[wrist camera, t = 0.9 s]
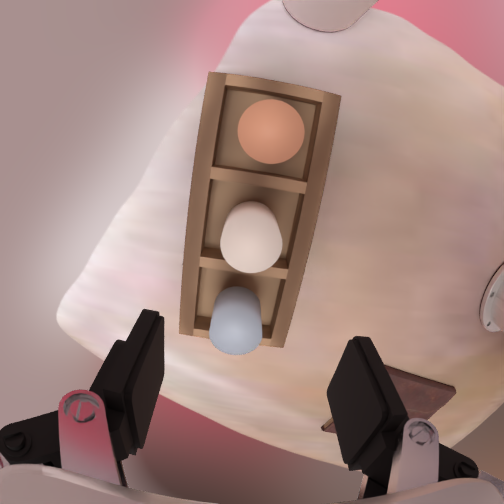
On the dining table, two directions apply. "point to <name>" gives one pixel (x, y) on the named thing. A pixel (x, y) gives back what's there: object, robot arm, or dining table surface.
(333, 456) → the dining table surface
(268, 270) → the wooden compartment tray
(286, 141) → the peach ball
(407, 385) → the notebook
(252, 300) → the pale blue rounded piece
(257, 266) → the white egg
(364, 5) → the milk bottle
